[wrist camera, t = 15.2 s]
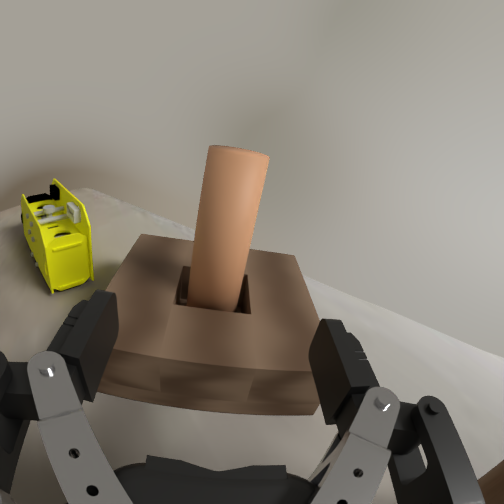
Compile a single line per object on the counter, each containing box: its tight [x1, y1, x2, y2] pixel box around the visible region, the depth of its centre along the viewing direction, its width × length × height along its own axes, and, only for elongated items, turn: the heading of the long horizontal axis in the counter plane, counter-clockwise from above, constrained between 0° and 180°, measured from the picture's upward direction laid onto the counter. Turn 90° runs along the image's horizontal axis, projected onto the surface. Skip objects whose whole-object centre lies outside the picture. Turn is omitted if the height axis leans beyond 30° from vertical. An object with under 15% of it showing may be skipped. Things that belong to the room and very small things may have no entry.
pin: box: [186, 145, 270, 313], centre depth 22 cm, size 4×4×14 cm
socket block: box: [97, 234, 320, 415], centre depth 24 cm, size 16×16×5 cm
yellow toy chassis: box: [21, 179, 94, 294], centre depth 29 cm, size 16×6×8 cm, turn 50°
